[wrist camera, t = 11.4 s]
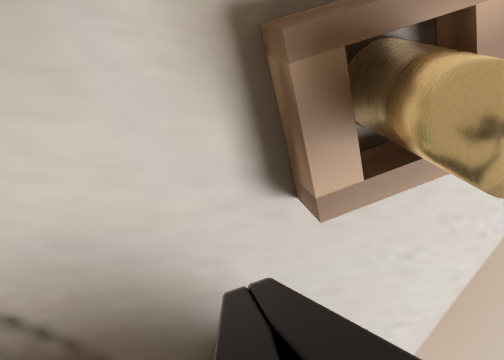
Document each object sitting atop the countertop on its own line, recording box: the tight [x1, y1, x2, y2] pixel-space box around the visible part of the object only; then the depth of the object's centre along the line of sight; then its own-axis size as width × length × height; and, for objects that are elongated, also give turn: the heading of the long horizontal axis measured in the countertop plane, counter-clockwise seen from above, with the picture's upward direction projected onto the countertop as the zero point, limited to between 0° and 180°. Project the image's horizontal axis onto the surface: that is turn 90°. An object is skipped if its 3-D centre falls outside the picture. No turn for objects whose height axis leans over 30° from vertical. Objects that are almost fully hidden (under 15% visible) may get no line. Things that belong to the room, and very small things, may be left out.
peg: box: [348, 38, 504, 198], centre depth 18 cm, size 4×4×8 cm
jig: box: [260, 0, 504, 223], centre depth 20 cm, size 8×10×2 cm
